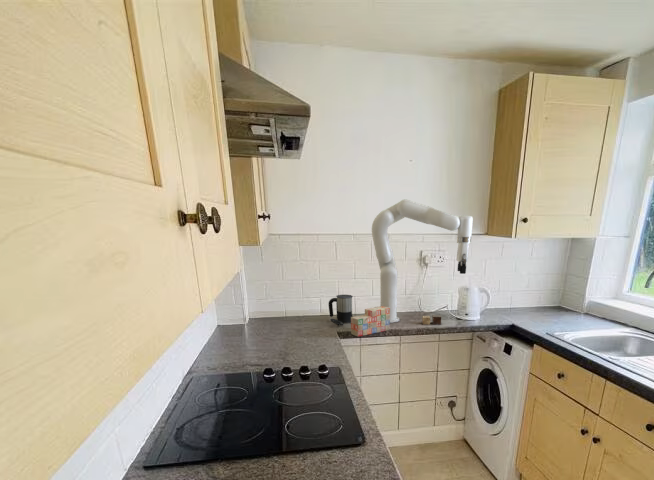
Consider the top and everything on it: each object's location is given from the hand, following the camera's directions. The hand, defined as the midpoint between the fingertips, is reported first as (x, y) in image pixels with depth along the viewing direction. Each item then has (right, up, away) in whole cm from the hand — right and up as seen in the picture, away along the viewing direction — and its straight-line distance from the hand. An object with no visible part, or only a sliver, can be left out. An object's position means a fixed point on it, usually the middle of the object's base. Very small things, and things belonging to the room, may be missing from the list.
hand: (461, 272), depth 229 cm
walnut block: (-13, -28, +6) cm, 32 cm away
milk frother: (-68, -28, +6) cm, 74 cm away
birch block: (-19, -28, +6) cm, 35 cm away
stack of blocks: (-51, -35, -11) cm, 63 cm away
